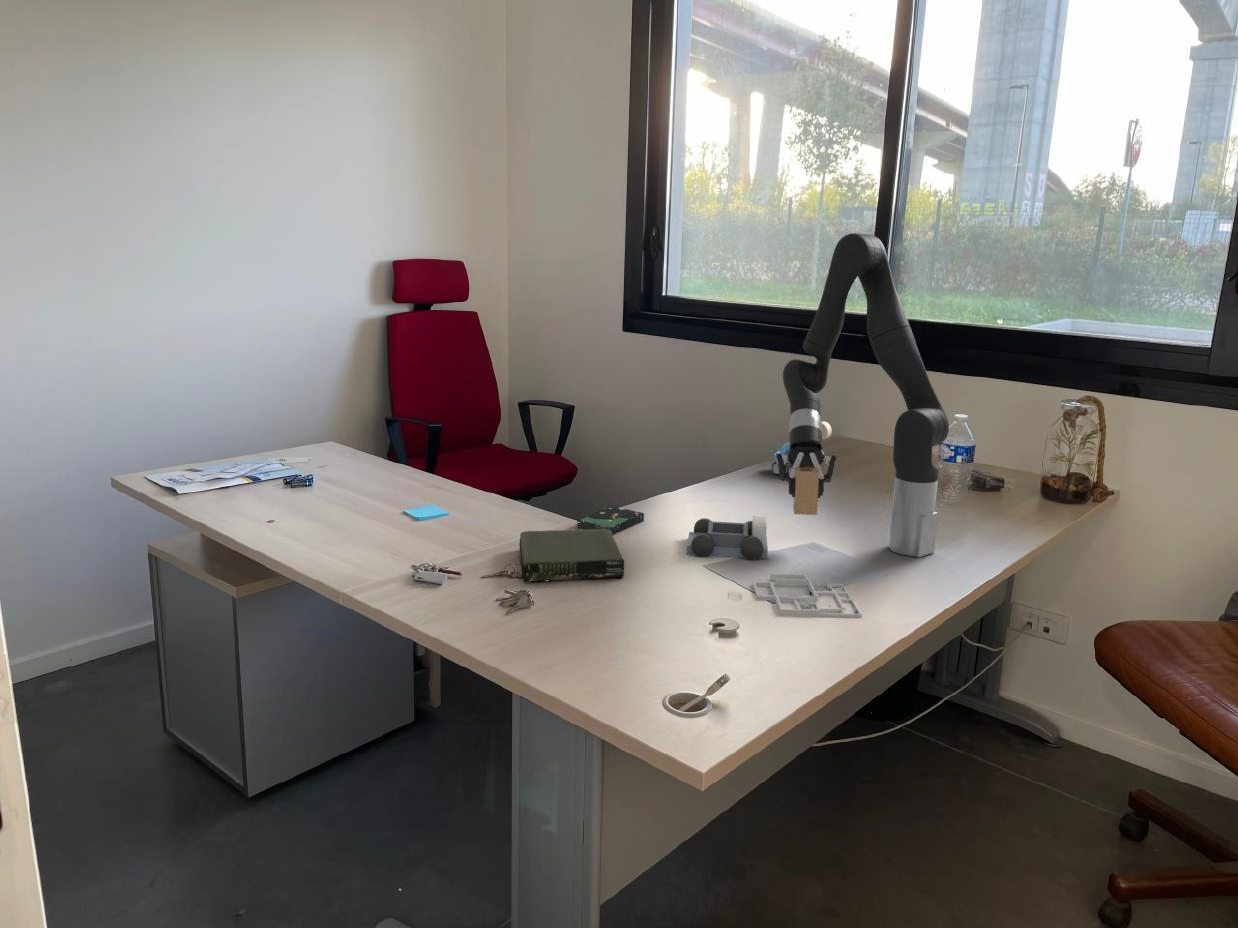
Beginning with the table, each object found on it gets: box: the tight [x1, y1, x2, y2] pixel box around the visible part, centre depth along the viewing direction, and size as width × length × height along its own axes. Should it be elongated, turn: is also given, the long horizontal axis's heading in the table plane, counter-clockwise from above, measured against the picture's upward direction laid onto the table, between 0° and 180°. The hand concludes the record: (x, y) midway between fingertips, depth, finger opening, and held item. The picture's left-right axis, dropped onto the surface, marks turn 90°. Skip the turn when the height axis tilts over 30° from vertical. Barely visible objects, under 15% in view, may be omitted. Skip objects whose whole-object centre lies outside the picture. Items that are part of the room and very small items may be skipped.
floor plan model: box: [752, 572, 863, 618], centre depth 185 cm, size 19×25×2 cm
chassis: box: [686, 515, 769, 561], centre depth 211 cm, size 18×13×7 cm
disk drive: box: [576, 505, 645, 536], centre depth 228 cm, size 10×3×15 cm
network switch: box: [518, 529, 625, 583], centre depth 201 cm, size 23×23×5 cm
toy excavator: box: [771, 421, 833, 475], centre depth 275 cm, size 9×17×17 cm, turn 53°
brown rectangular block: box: [792, 466, 819, 516], centre depth 209 cm, size 5×5×10 cm
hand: (806, 495), depth 207 cm, fingers closed on brown rectangular block, 5 cm apart
